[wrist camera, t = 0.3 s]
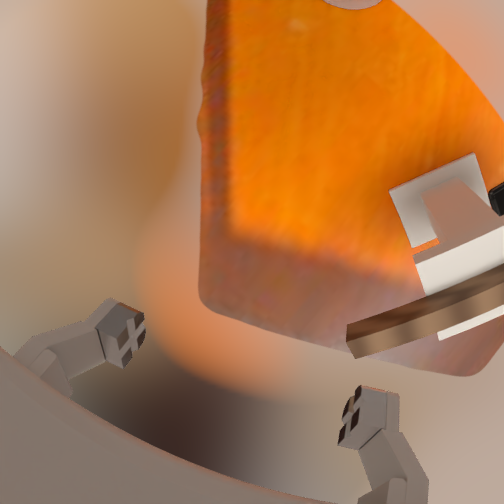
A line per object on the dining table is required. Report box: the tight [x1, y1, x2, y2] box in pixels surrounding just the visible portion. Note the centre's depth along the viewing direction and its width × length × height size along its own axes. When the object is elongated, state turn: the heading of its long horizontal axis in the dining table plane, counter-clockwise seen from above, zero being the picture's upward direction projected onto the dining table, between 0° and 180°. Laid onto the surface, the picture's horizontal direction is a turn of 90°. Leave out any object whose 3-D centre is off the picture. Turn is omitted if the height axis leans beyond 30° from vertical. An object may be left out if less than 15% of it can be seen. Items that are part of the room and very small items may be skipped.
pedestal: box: [388, 152, 504, 341], centre depth 39 cm, size 18×12×26 cm, turn 124°
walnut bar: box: [346, 263, 504, 359], centre depth 30 cm, size 26×3×3 cm, turn 124°
